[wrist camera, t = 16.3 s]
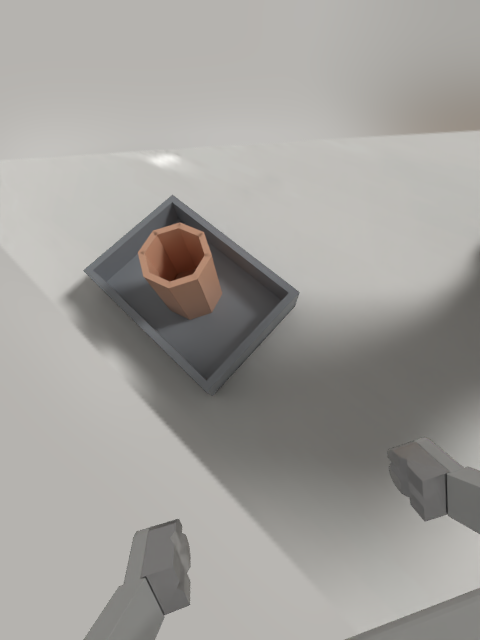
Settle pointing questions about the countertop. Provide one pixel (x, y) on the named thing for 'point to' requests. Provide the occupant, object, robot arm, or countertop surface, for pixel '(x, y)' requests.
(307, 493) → the countertop surface
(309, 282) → the countertop surface
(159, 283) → the cup
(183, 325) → the tray
